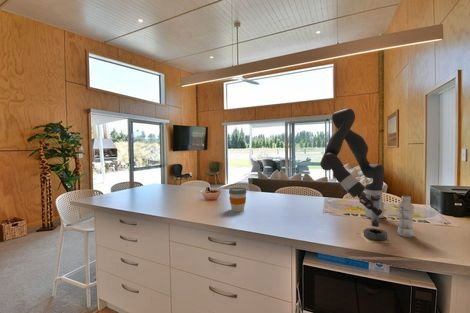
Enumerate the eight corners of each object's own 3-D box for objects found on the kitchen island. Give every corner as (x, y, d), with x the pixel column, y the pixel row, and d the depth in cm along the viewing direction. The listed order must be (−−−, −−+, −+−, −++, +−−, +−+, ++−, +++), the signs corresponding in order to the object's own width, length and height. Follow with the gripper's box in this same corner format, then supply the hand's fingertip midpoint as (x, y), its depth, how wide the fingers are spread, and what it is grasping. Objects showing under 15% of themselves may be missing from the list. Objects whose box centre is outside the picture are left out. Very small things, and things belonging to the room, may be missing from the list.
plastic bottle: (394, 235, 122) (394, 195, 121) (406, 234, 123) (407, 195, 122) (404, 240, 116) (404, 198, 115) (417, 239, 116) (418, 197, 115)
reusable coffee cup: (249, 209, 177) (249, 188, 177) (240, 213, 167) (240, 191, 166) (235, 207, 184) (234, 187, 183) (225, 210, 173) (225, 189, 173)
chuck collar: (380, 234, 120) (380, 228, 120) (390, 241, 111) (390, 234, 111) (361, 234, 121) (361, 228, 121) (370, 241, 112) (370, 234, 112)
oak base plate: (381, 235, 122) (381, 233, 122) (395, 244, 110) (395, 242, 110) (356, 235, 123) (356, 233, 123) (368, 244, 111) (368, 242, 111)
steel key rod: (377, 224, 118) (377, 194, 117) (381, 227, 114) (382, 196, 113) (368, 224, 118) (369, 194, 118) (372, 227, 114) (373, 195, 114)
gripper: (355, 182, 114) (385, 212, 107) (361, 179, 126) (388, 206, 119) (343, 192, 118) (371, 222, 111) (349, 188, 129) (376, 215, 122)
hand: (380, 213), depth 115 cm, fingers closed on steel key rod, 3 cm apart
